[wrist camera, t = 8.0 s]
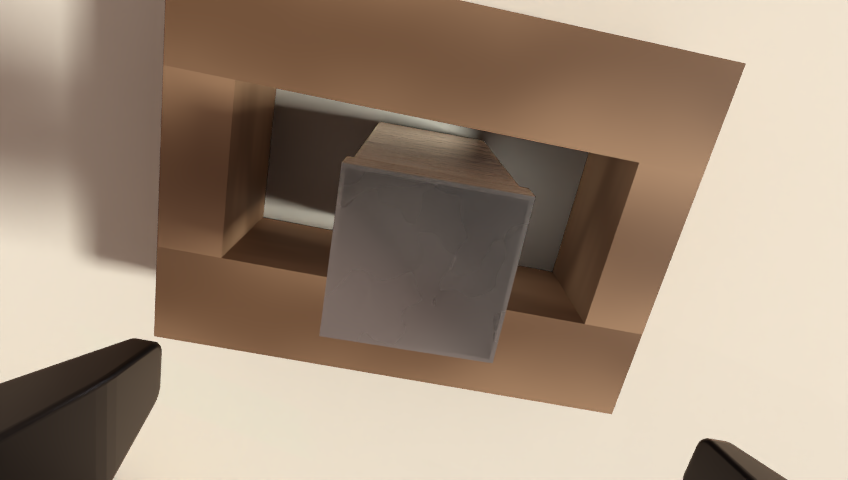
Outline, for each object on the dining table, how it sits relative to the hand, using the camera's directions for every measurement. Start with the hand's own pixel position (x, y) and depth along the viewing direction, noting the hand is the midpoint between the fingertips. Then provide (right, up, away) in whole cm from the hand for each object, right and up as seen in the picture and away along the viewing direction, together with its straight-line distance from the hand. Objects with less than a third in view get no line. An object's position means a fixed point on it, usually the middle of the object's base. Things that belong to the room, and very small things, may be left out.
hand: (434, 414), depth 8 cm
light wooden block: (0, +5, +12) cm, 13 cm away
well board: (0, +5, +12) cm, 13 cm away
